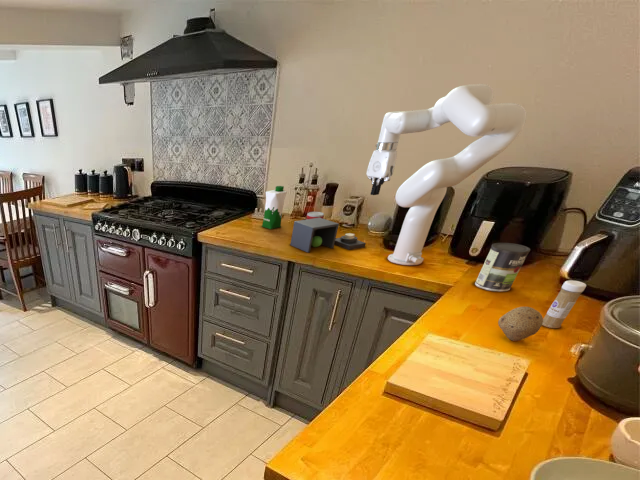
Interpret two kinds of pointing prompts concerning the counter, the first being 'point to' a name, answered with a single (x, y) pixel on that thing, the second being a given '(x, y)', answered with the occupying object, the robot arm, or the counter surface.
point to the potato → (520, 323)
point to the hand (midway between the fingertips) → (374, 194)
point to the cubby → (313, 233)
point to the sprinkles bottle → (563, 303)
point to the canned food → (315, 215)
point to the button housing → (349, 243)
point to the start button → (349, 236)
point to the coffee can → (501, 266)
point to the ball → (316, 241)
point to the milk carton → (274, 207)
